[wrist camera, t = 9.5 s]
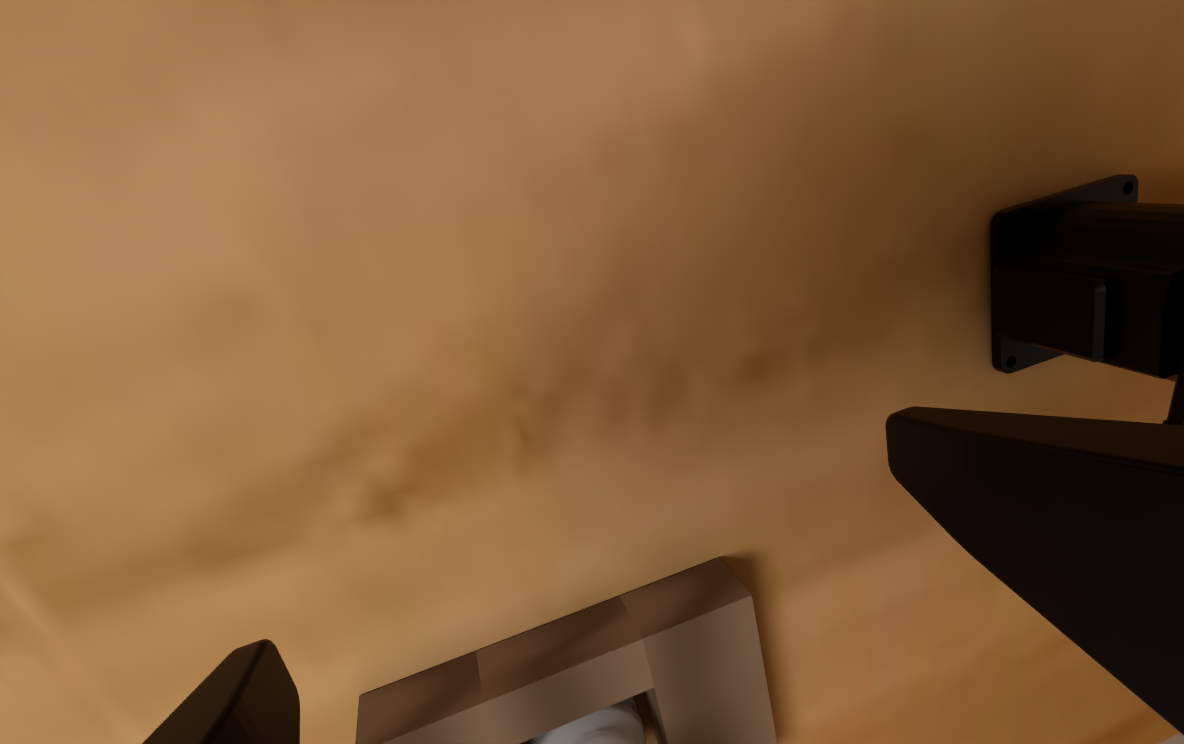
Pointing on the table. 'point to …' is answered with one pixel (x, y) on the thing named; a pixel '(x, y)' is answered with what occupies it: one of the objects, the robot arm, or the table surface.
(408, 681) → the socket board
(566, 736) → the rook chess piece
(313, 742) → the table surface
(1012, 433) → the robot arm
